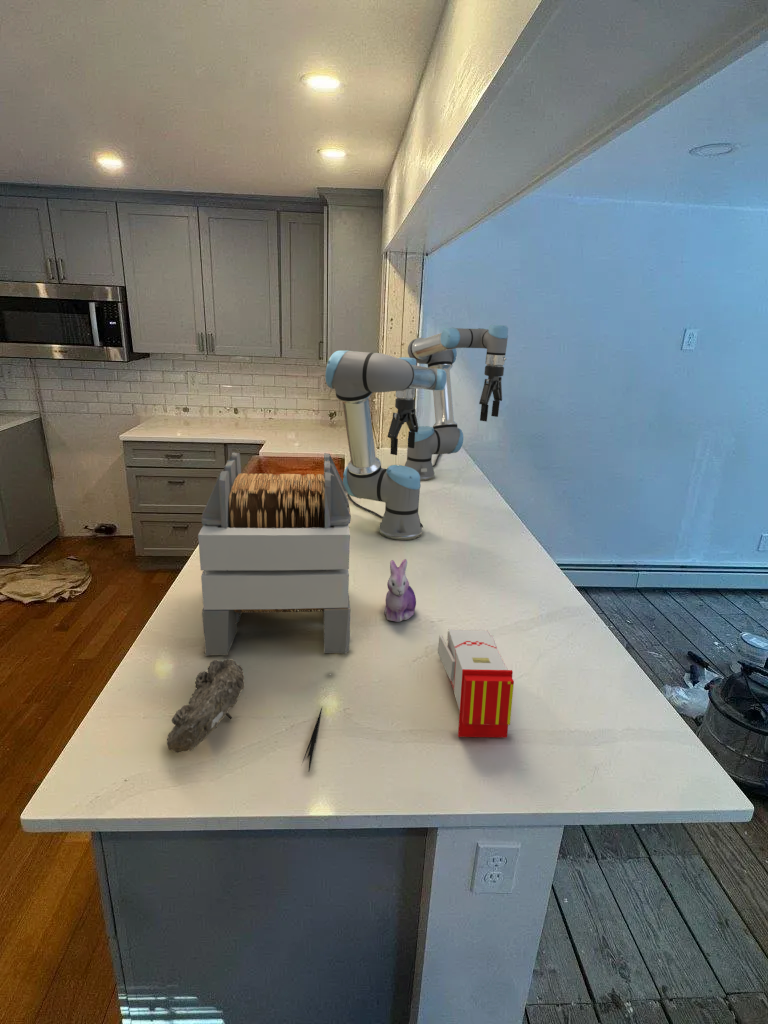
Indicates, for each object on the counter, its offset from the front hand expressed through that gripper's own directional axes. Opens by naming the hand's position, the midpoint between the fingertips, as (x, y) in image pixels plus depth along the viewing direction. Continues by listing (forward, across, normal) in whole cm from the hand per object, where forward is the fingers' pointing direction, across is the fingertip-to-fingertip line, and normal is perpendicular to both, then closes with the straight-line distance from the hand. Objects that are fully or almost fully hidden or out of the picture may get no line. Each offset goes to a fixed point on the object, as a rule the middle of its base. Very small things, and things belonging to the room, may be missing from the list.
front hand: (402, 451), depth 229 cm
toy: (+18, -100, -77) cm, 128 cm away
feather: (+17, -125, -57) cm, 138 cm away
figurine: (+18, -82, -49) cm, 97 cm away
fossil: (+17, -136, -40) cm, 143 cm away
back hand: (-13, +26, -25) cm, 38 cm away
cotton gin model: (+18, -101, -26) cm, 106 cm away
